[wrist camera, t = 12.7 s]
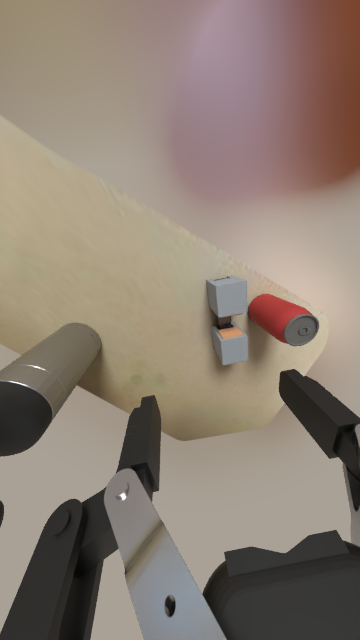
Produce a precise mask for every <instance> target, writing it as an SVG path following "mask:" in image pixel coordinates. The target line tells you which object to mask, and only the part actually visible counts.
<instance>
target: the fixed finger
mask: <svg viewBox="0 0 360 640" xmlns="http://www.w3.org/2000/svg"><path fill="white" fill-rule="evenodd" d="M206 281H207V290H208V300H209V306H210V308H211V309H212V310H213V311H214V313H215V314H216V315H217V316H218V317H221V318H223V317H228V316H233V315H239V314H243V313H246V312H247V280H244V279H241V278H238V277H235V276H232V275H231V276H227V279H222V280H216V281H213V280H211V279H209V280H206Z"/></svg>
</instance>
